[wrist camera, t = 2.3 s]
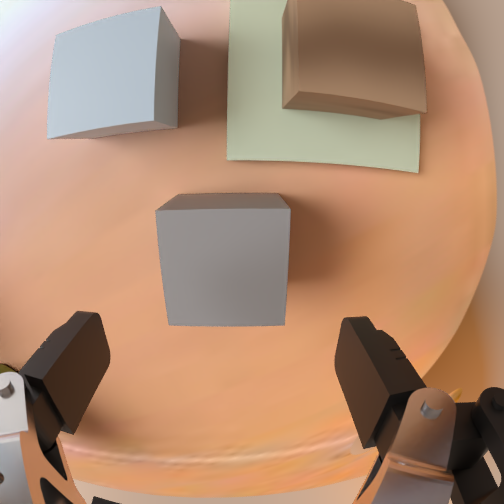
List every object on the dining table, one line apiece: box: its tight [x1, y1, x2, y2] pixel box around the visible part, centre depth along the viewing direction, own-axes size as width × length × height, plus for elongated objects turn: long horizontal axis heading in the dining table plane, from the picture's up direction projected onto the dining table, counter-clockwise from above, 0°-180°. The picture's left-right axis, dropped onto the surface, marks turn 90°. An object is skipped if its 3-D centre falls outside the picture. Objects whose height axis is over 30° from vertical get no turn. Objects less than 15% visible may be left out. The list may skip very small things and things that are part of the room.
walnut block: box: [282, 0, 427, 120], centre depth 11 cm, size 6×6×5 cm
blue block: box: [47, 6, 181, 139], centre depth 12 cm, size 6×6×5 cm
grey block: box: [156, 193, 291, 326], centre depth 16 cm, size 6×6×5 cm
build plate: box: [227, 0, 420, 173], centre depth 14 cm, size 12×12×1 cm
